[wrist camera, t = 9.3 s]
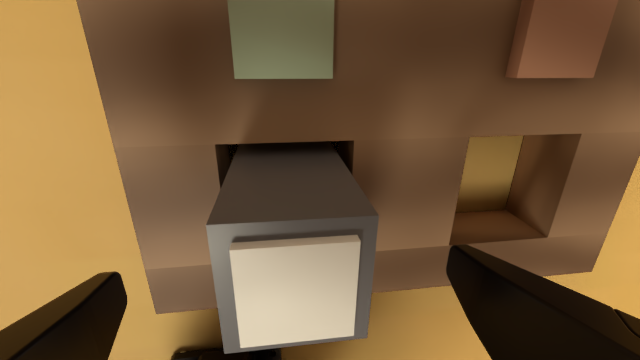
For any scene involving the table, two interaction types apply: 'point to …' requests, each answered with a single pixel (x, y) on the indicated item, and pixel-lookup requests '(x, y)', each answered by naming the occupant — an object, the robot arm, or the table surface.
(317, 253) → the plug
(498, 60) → the socket board
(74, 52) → the table surface
